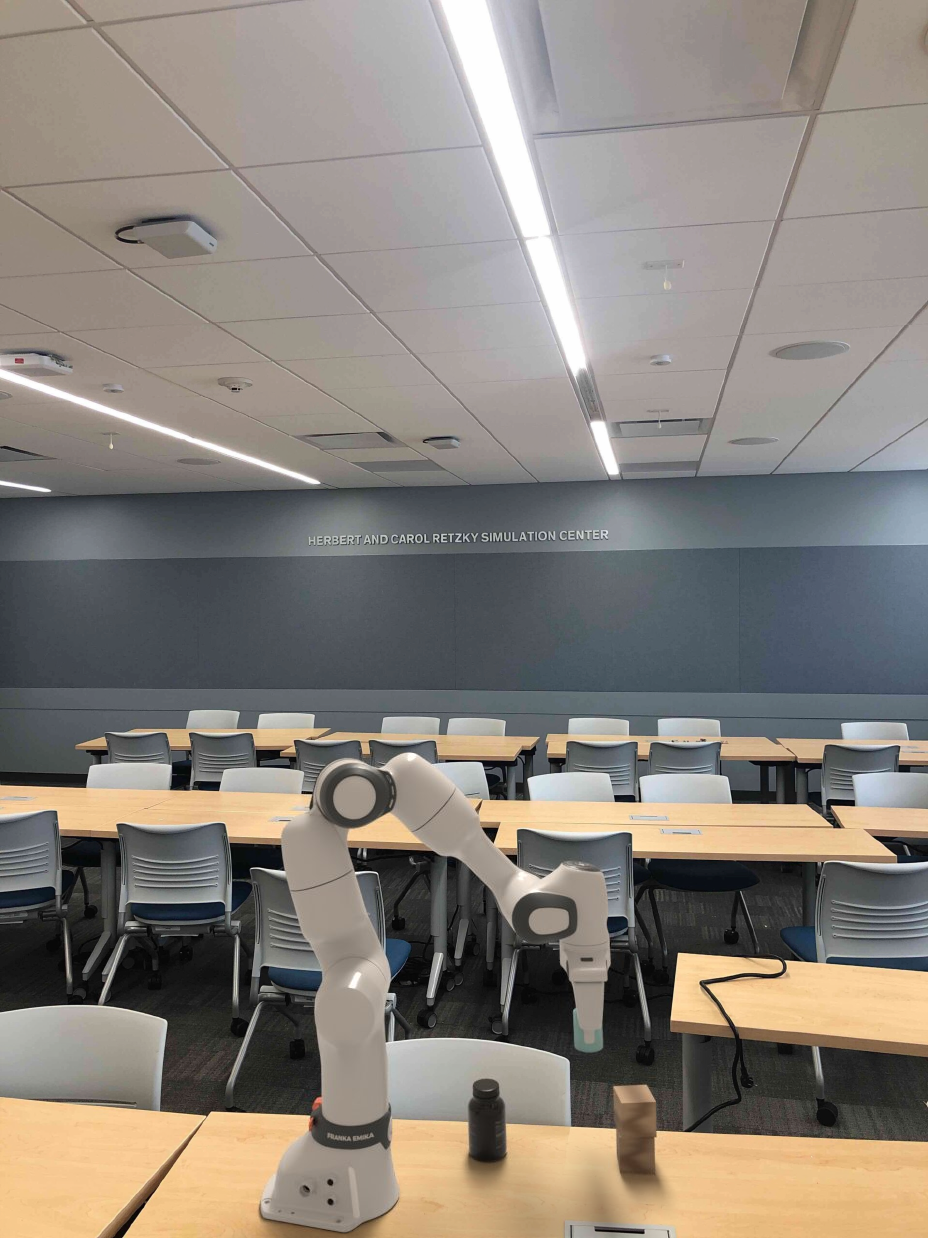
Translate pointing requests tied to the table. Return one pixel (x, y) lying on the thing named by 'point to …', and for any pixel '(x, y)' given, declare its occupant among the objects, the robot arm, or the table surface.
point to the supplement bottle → (487, 1122)
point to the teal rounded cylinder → (579, 1037)
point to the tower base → (635, 1155)
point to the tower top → (634, 1111)
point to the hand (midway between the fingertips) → (588, 1034)
